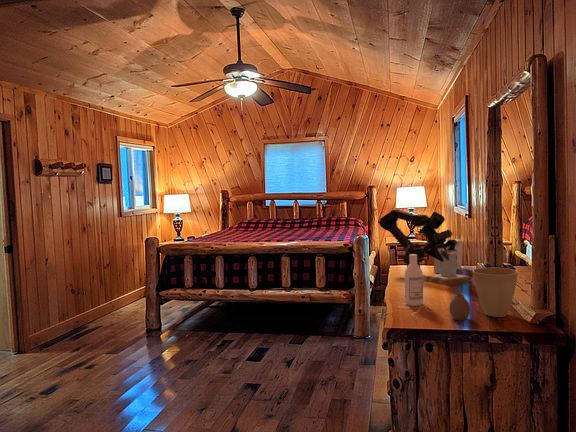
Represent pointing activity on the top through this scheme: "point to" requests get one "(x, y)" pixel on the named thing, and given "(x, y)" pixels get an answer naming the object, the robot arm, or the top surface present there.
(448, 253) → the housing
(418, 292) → the bath foam
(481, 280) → the plant pot
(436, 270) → the skincare box
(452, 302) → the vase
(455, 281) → the stand
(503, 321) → the top surface
